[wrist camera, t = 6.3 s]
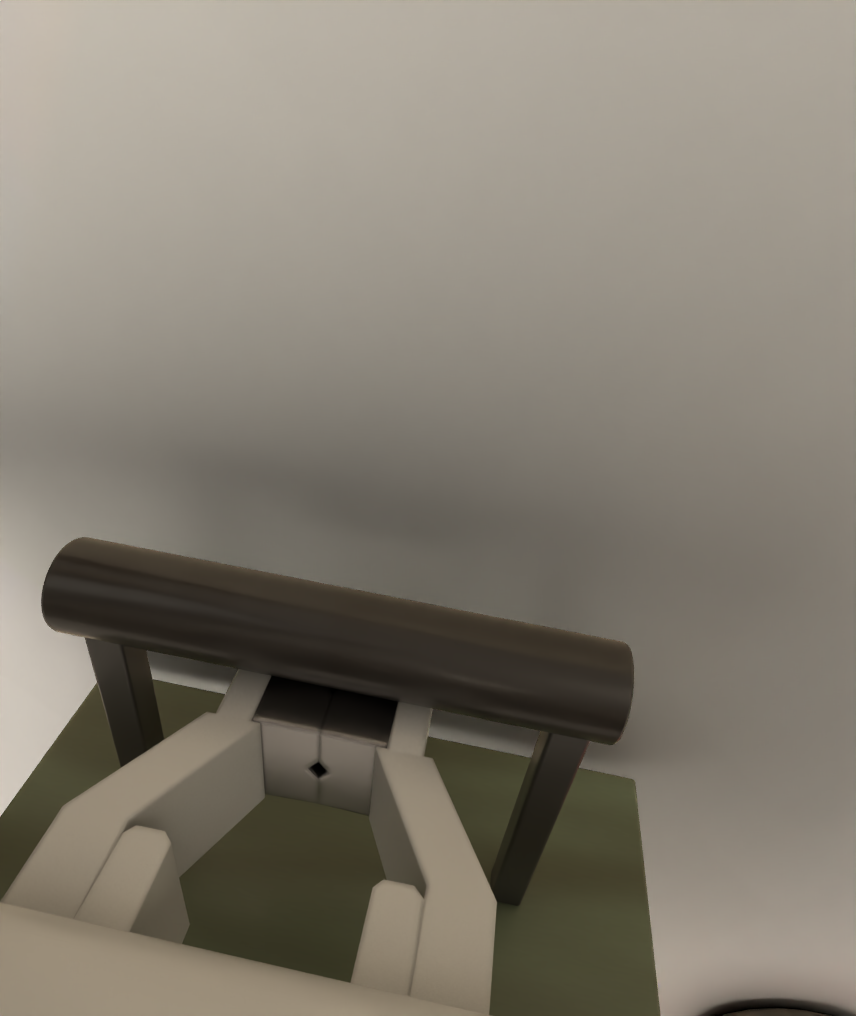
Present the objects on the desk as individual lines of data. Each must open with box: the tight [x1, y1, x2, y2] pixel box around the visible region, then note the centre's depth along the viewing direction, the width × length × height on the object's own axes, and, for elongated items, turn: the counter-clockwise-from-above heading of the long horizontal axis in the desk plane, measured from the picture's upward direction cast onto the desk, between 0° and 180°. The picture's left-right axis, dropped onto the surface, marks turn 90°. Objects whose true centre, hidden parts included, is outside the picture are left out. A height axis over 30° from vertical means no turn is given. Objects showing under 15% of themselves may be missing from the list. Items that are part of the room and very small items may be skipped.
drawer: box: [0, 537, 660, 1016], centre depth 15 cm, size 21×13×7 cm, turn 174°
